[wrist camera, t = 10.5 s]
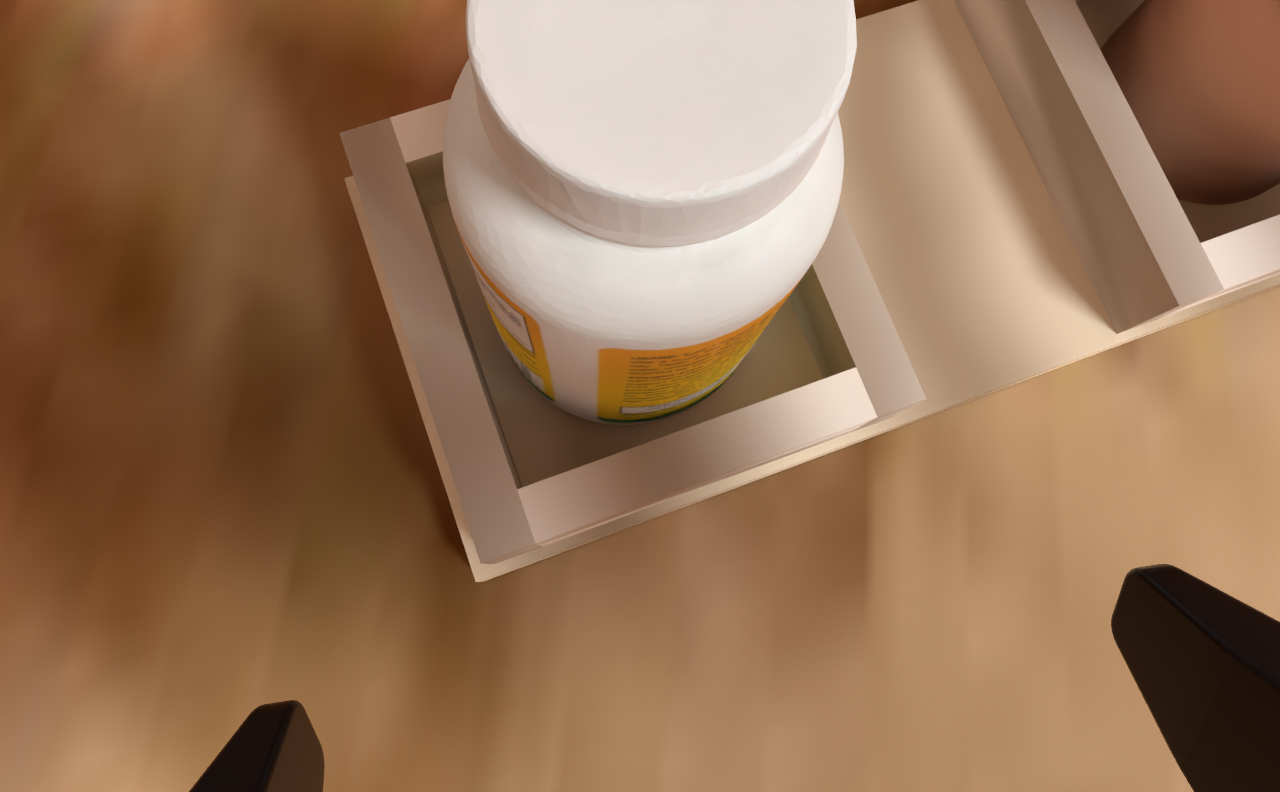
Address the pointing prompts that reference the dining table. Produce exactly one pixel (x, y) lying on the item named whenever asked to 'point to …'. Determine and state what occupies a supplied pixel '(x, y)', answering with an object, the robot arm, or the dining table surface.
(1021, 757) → the dining table surface
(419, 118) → the candle holder
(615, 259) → the supplement bottle
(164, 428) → the dining table surface
